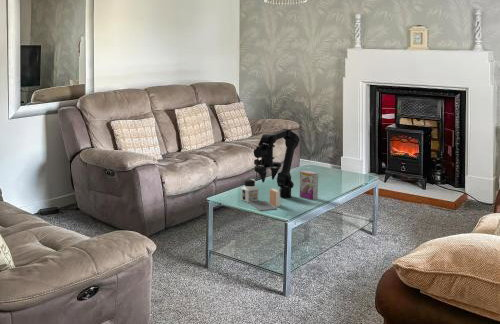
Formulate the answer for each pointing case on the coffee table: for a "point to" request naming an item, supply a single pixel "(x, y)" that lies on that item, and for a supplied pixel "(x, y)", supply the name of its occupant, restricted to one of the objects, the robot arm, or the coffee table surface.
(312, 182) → the candy bar box
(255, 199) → the container
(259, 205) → the mat
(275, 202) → the cream rectangular block
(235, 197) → the coffee table surface
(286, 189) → the robot arm
